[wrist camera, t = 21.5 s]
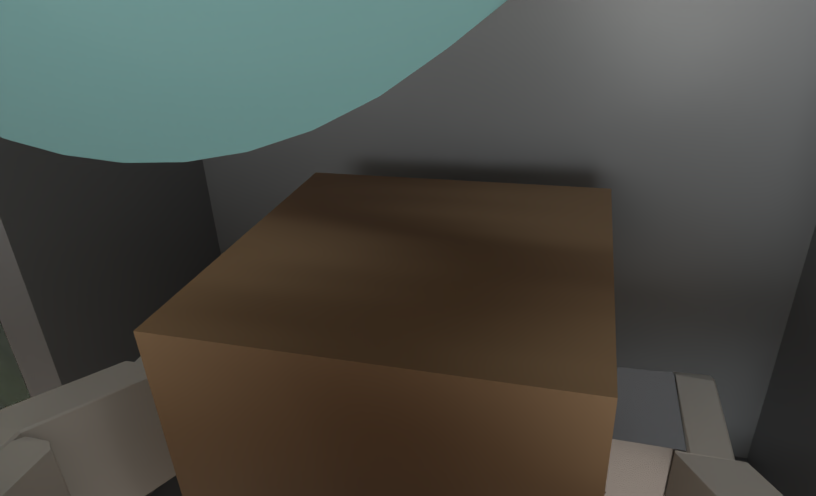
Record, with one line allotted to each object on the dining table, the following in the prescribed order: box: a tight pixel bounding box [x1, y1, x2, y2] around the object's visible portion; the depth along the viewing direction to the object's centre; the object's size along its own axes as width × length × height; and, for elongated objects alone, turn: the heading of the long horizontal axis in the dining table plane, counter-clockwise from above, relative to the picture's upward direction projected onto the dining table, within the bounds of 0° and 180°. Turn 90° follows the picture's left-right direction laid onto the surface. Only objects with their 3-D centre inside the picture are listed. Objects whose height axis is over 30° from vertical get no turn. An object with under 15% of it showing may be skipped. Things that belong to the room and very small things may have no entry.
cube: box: [133, 172, 618, 496], centre depth 9 cm, size 5×5×5 cm
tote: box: [0, 0, 816, 496], centre depth 9 cm, size 14×18×6 cm
